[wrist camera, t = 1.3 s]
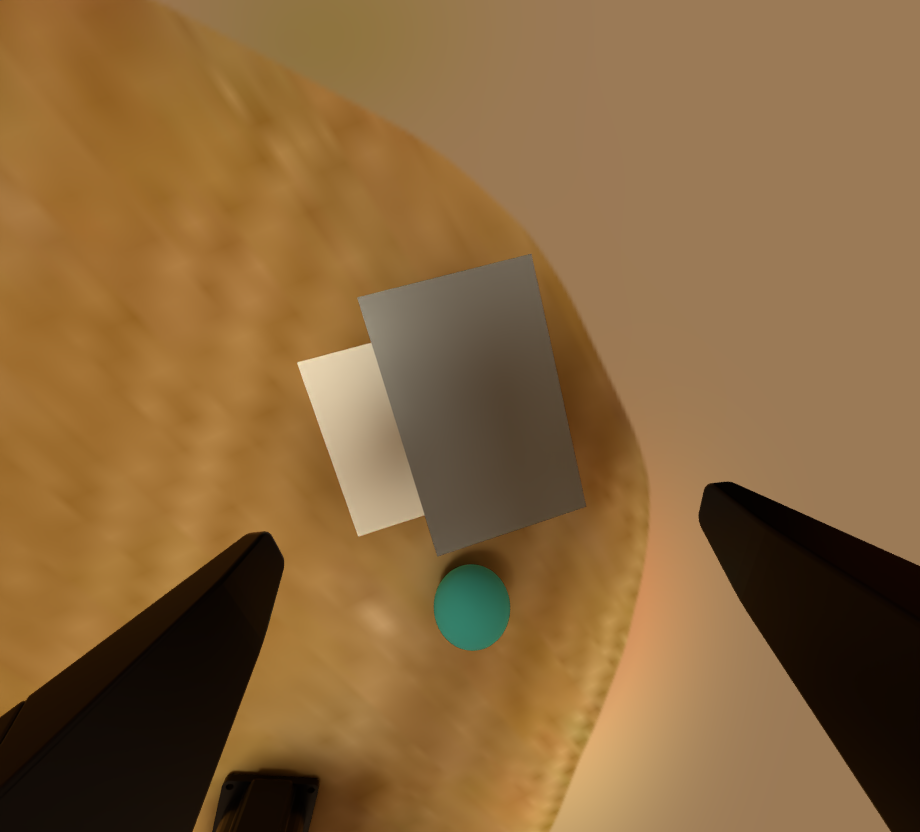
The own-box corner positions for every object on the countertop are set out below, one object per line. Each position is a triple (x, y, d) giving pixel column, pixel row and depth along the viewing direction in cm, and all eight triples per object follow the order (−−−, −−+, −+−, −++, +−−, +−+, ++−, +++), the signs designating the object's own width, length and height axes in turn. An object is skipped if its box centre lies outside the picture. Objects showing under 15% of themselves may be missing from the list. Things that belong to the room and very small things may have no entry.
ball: (489, 618, 27) (507, 675, 22) (423, 609, 26) (428, 666, 21) (506, 556, 26) (530, 600, 21) (440, 544, 25) (449, 588, 20)
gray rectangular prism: (532, 463, 26) (586, 506, 18) (427, 496, 25) (437, 556, 17) (489, 289, 23) (531, 253, 16) (373, 319, 22) (357, 297, 15)
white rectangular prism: (524, 482, 26) (525, 482, 25) (358, 535, 24) (358, 536, 24) (482, 313, 23) (482, 313, 23) (298, 362, 22) (297, 362, 22)
